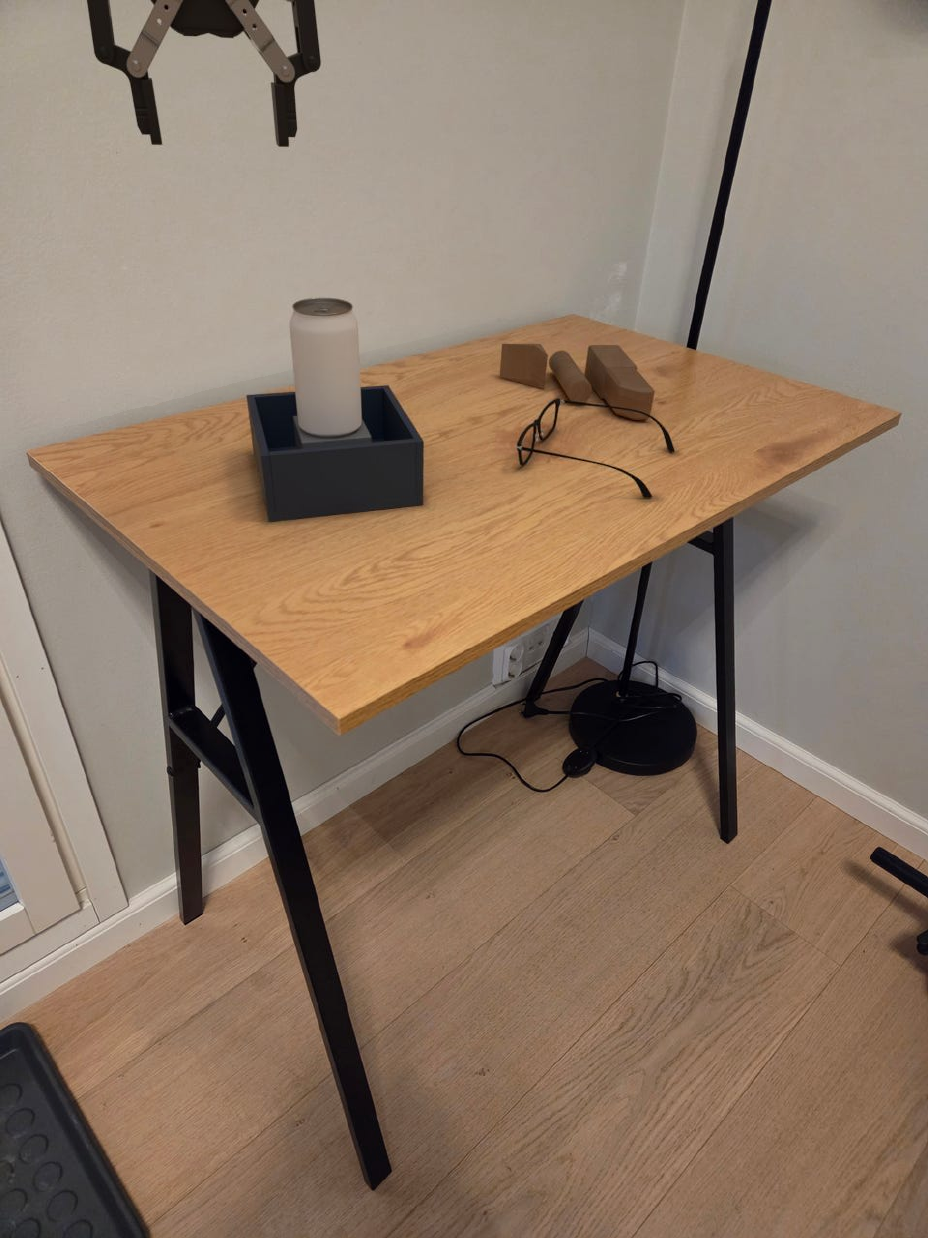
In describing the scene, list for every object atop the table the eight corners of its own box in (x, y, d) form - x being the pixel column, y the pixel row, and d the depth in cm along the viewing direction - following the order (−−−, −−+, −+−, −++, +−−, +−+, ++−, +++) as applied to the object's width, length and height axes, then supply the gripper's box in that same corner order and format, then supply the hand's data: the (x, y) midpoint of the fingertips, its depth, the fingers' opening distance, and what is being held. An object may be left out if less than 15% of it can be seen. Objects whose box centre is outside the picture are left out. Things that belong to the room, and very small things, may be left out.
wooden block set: (618, 335, 112) (659, 380, 98) (612, 374, 115) (651, 423, 101) (501, 334, 110) (525, 380, 95) (498, 374, 113) (521, 424, 99)
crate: (268, 522, 77) (260, 455, 73) (253, 454, 89) (246, 394, 85) (423, 504, 81) (423, 441, 77) (389, 442, 93) (388, 384, 89)
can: (367, 416, 84) (363, 298, 76) (354, 441, 78) (349, 317, 71) (307, 412, 84) (298, 294, 77) (291, 436, 79) (279, 312, 72)
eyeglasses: (552, 422, 100) (555, 392, 97) (677, 447, 95) (684, 415, 93) (507, 475, 87) (510, 441, 85) (648, 506, 83) (655, 471, 80)
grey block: (305, 488, 81) (301, 442, 78) (296, 459, 86) (292, 415, 83) (373, 481, 83) (371, 436, 80) (360, 453, 88) (358, 410, 85)
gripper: (39, -210, 41) (110, 150, 51) (314, -178, 45) (331, 152, 54) (54, -182, 47) (115, 137, 56) (296, -156, 50) (315, 139, 60)
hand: (221, 144), depth 55 cm, fingers open, 8 cm apart
